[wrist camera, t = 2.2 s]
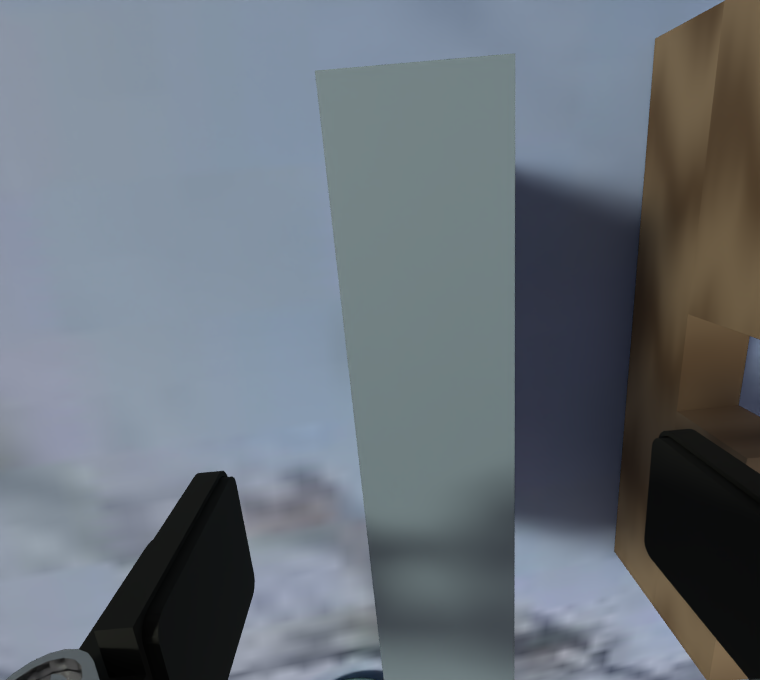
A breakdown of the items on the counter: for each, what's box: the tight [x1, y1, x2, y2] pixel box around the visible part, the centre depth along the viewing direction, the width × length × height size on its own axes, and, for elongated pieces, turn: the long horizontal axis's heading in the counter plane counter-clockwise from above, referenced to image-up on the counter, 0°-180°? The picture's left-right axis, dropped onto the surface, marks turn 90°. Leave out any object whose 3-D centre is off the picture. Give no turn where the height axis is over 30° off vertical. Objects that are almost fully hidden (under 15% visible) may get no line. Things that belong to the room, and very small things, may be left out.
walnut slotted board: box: [614, 0, 760, 680], centre depth 18 cm, size 24×2×7 cm, turn 5°
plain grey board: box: [315, 54, 515, 680], centre depth 15 cm, size 16×3×12 cm, turn 5°
